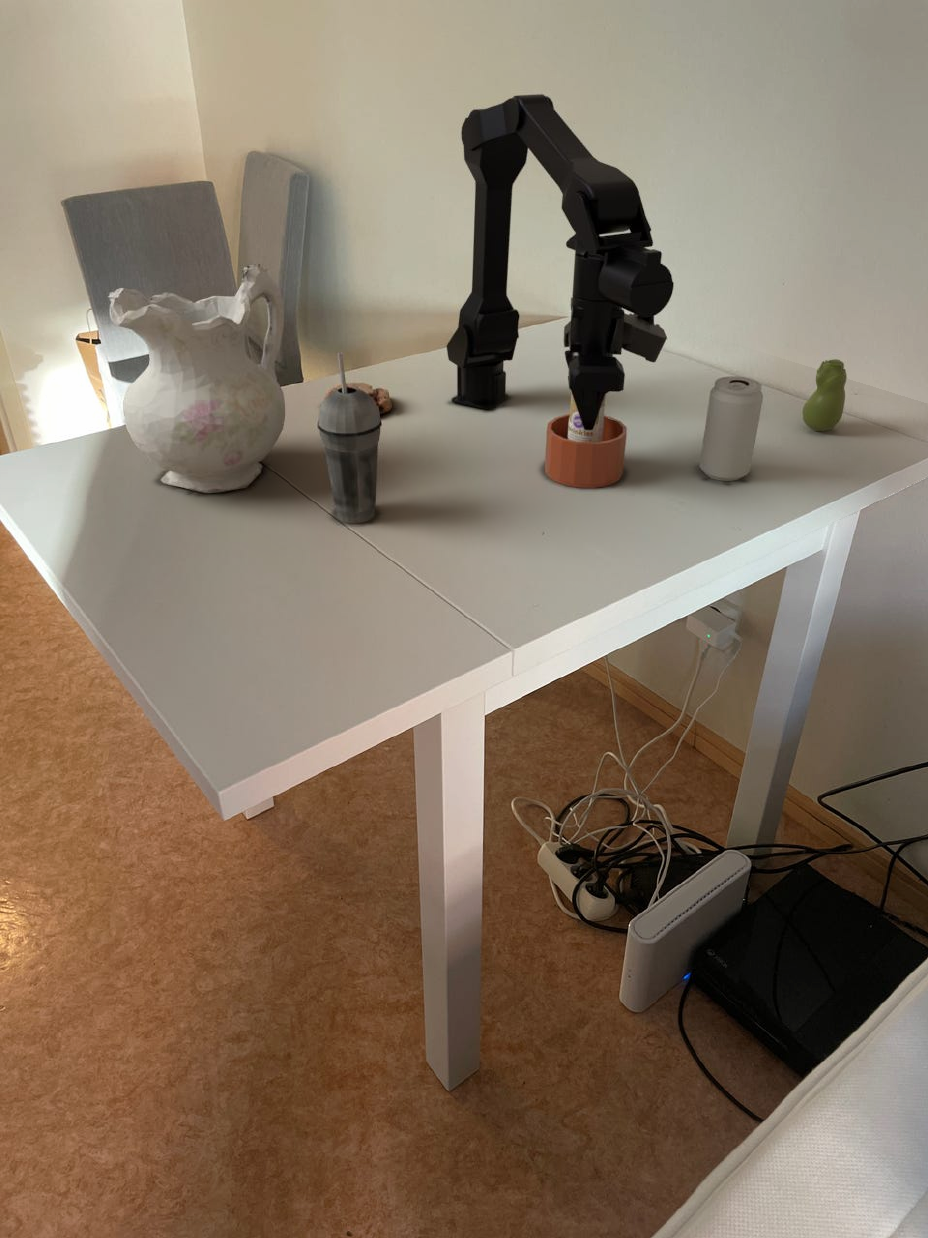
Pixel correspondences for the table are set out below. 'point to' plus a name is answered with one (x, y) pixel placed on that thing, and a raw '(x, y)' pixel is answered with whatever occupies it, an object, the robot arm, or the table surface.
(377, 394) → the cookie
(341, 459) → the beverage cup
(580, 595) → the table surface
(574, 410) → the sprinkles bottle
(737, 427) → the beverage can
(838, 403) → the pear
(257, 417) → the ceramic pitcher
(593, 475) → the bowl
